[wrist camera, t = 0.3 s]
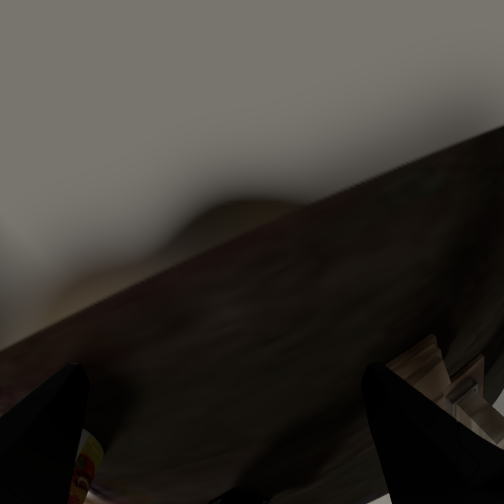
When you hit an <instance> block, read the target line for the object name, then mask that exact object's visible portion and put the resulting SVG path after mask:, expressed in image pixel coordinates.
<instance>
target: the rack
mask: <svg viewBox="0 0 504 504" xmlns="http://www.w3.org/2000/svg"><path fill="white" fill-rule="evenodd" d="M432 344H434V345H435V346H437V341H436V336H435V335H433V334H432V333H431V334H430V335H429V336H427V337H426V338H424V339H423V340H422V341H420V342H419V343H417V344H416V345H414V346H413V347H411V348H410V349H408V350H407V351H405V352H404V353H402V354H401V355H399V356H398V357H396V358H395V359H393V360H391V361H390V362H388V363H387V364H385V366H387V367H388V368H389V369H391V370H392V371H394V370H395V369H397V368H398V367H400V366H401V365H403V364H405V363H406V362H408V361H409V360H411V359H412V358H414V357H415V356H416V355H418V354H419V353H421V352H422V351H424V350H425V349H426V348H428V347H429V346H431V345H432ZM450 382H451V384H450V385H448V386H447V387H446V388H445V389H444V390H443V391H442V392H441V393H440V394H439V395H437V396H436V397H435V398H434V399H433V400H432V401H433V402H434V403H435V404H437V405H438V406H439V407H441V408H442V409H443V410H445V411H446V412H447V413H449V414H450V415H451V416H453V417H454V418H455V404H457V403H458V402H459V401H460V400H462V399H463V398H464V397H465V396H466V395H468V394H469V393H470V392H471V391H472V390H474V391H475V392H476V393H478V394H479V395H480V396H481V397H482V398H483V384H484V355H482V354H479V355H478V356H477V357H476V358H475V359H474V360H473V361H472V362H470V363H469V364H468V365H467V366H466V367H465V368H463V369H462V370H461V371H460V372H458V373H457V374H456V375H455V376H453V377H452V378H451V379H450Z"/></svg>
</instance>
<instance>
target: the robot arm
mask: <svg viewBox="0 0 504 504" xmlns="http://www.w3.org/2000/svg"><path fill="white" fill-rule="evenodd" d="M89 387H90V384H89V380H88V378H87V376H86V374H85V372H84V370H83V368H82V366H81V365H80V364H77V363H68V364H66V365H65V366H64V367H62V368H61V369H60V370H59V371H57V372H56V373H55V374H54V375H52V376H51V377H50V378H48V379H47V380H46V381H45V382H43V383H42V384H41V385H40V386H38V387H37V388H36V389H35V390H33V391H32V392H31V393H30V394H28V395H27V396H26V397H25V398H23V399H22V400H21V401H20V402H18V403H17V404H16V405H15V406H14V407H12V408H11V409H10V410H9V411H7V412H6V413H5V414H4V415H2V416H1V417H0V504H68V500H69V493H70V487H71V481H72V476H73V471H74V466H75V461H76V456H77V451H78V447H79V442H80V438H81V434H82V430H83V425H84V419H85V412H86V405H87V399H88V393H89ZM361 388H362V393H363V398H364V403H365V408H366V413H367V418H368V423H369V427H370V430H371V434H372V437H373V440H374V443H375V446H376V450H377V453H378V456H379V459H380V463H381V466H382V470H383V473H384V477H385V480H386V484H387V487H388V491H389V494H390V498H391V502H392V504H504V450H503V449H501V448H499V447H498V446H496V445H494V444H492V443H491V442H489V441H487V440H486V439H484V438H482V437H481V436H479V435H478V434H476V433H475V432H473V431H472V430H470V429H469V428H468V427H466V426H465V425H463V424H462V423H461V422H459V421H457V419H455V418H454V417H453V416H451V415H450V414H449V413H447V412H446V411H445V410H443V409H442V408H441V407H439V406H438V405H437V404H435V403H434V402H433V401H431V400H430V399H429V398H427V397H426V396H425V395H423V394H422V393H421V392H420V391H418V390H417V389H416V388H414V387H413V386H412V385H410V384H409V383H408V382H406V381H405V380H404V379H402V378H401V377H400V376H398V375H397V374H396V373H395V372H393V371H392V370H391V369H389V368H388V367H387V366H385V365H384V364H383V363H381V362H376V363H370V364H369V365H368V366H367V368H366V370H365V373H364V375H363V378H362V381H361ZM208 504H270V500H268V499H264V498H261V497H257V496H254V495H250V494H247V493H244V492H241V491H238V490H231V491H229V492H227V493H226V494H224V495H222V496H221V497H219V498H217V499H216V500H214V501H212V502H210V503H208Z"/></svg>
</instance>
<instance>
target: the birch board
mask: <svg viewBox="0 0 504 504" xmlns="http://www.w3.org/2000/svg"><path fill="white" fill-rule="evenodd" d="M455 419H457V421H459V422H461V423H462V424H463V425H465V426H466V427H468V428H469V429H470V430H472V431H473V432H475V433H476V434H478V435H479V436H481V437H482V438H484V439H486V440H487V441H489V442H491V443H492V444H494V445H496V446H498V447H499V448H501V449H503V450H504V417H503V416H502V415H501V414H500V413H499V412H498V411H497V410H496V409H495V408H493V407H492V406H491V405H490V404H489V403H488V402H487V401H486V400H484V399H483V398H482V397H481V396H480V395H479V394H478V393H476V392H475V391H474V390H472V391H471V392H470V393H469V394H468V395H466V396H465V397H464V398H463V399H462V400H460V401H459V402H458V403H457V404H455Z"/></svg>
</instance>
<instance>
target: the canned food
mask: <svg viewBox="0 0 504 504" xmlns="http://www.w3.org/2000/svg"><path fill="white" fill-rule="evenodd" d="M103 455H104V453H103V449H102V447H101V445H100V443H99V442H98V441H97V439H96V438H95V437H94V436H93V435H91V434H90V433H89V432H88V431H86V430H85V429H84V428H83V430H82V434H81V438H80V442H79V447H78V451H77V456H76V461H75V466H74V471H73V476H72V481H71V487H70V493H69V500H68V504H83V503H84V501H85V498H86V496H87V493H88V491H89V488H90V486H91V483H92V481H93V479H94V476H95V474H96V472H97V469H98V467H99V465H100V462H101V460H102V458H103Z"/></svg>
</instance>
